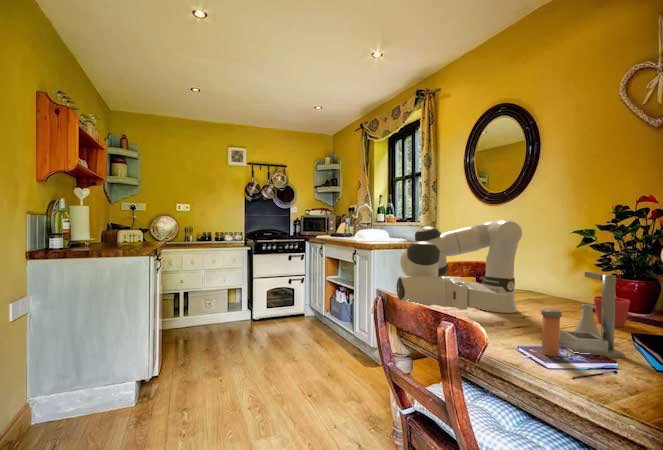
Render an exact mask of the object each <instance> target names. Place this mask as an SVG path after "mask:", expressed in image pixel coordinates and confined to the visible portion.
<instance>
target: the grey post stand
mask: <svg viewBox="0 0 663 450" xmlns="http://www.w3.org/2000/svg"><path fill="white" fill-rule="evenodd" d="M584 278H588V279H593V280H597V281H602V282H601V283H602V284H601V296H602V313H601V323H600V336H601V337H598V336H596V335H594V334H592V333H590V332H578V331H574V330H563V329H562V330H561V329H560V332H559V346H561V347H562V346H564V347H566V348H568V349H570V350H572V351H573V352H579V353H593V354H597V355H600V356H599V357H608V358H621V359H622V358H623V359H625V358H626V354H625V353H623V352H621V350H619V349H616V348H615V326H614V324H615V298H616V284H617V283H616V280H617V279H616V278H617V276H616V275H614V274H613V275H611V274H603V273H599V272H593V271H584ZM564 347H563V348H564Z"/></svg>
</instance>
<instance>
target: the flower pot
mask: <svg viewBox="0 0 663 450" xmlns="http://www.w3.org/2000/svg"><path fill="white" fill-rule="evenodd" d="M593 303H594V308H595V314H596V318H597V319H596V320H597V322H598V323H599V324H601V313H602V295H601V296H600V295H595V296H593ZM630 306H631V301H630V300H629V299H626V298H621V297H615V324H614V327H615V328H616V327H617V328H619V327H621V328H622V327H625V325H626V321H627V318H628V313H629V308H630Z"/></svg>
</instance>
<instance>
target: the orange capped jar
mask: <svg viewBox="0 0 663 450" xmlns="http://www.w3.org/2000/svg"><path fill="white" fill-rule="evenodd" d="M540 312H541V313H540V315H542V326H541V327H542V329H541V330H542V332H541V333H542V334H541V335H542V336H541V337H542V338H541V354H542V353H543V354H545V355H548V356H547V357H549V356H558V355H559V356H560V345H559V339H560V330H561V329H560V328H561V327H560V325H561V324H560V322H561V318H562V317H563V316H562V313H563V312H562V311H561V310H556V309H550V308H542V309H541V310H540ZM543 354H542V355H543ZM545 355H544V356H545Z"/></svg>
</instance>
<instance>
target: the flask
mask: <svg viewBox="0 0 663 450" xmlns="http://www.w3.org/2000/svg"><path fill="white" fill-rule="evenodd" d="M581 305H582V311H581V312H582V313H581V316H580V318H579V320H578V322H577V324H576V326H575V329H574V330H573V331H578V332H590V333H592V334H594V335H596V336H598V337H600V338H601V332H600V331H599V329H598V326H597V324H596V321H595V318H594V312H593V308H595V305H593V304H588V303H582V304H581Z"/></svg>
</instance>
